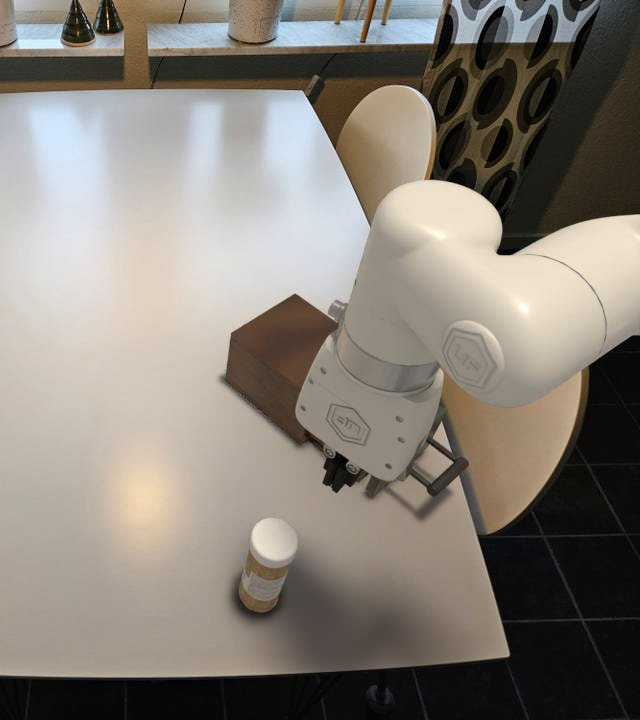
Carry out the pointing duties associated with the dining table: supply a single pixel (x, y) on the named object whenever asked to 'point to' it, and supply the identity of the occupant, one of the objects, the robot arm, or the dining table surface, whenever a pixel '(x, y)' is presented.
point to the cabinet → (278, 358)
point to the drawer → (445, 477)
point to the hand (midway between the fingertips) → (338, 478)
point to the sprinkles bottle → (267, 563)
